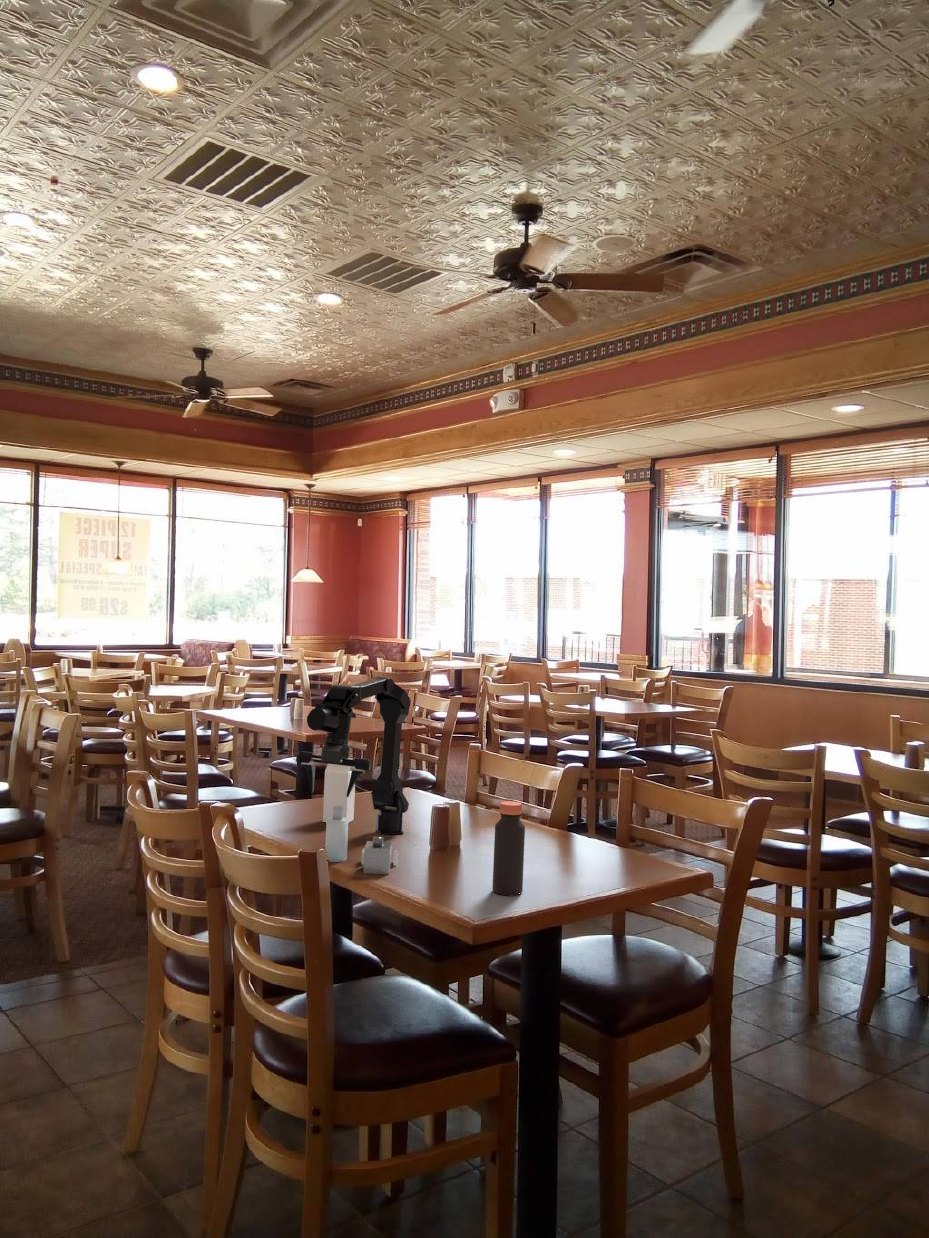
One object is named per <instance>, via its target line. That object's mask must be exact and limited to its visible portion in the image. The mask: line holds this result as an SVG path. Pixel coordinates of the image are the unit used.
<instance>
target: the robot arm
mask: <svg viewBox="0 0 929 1238" xmlns="http://www.w3.org/2000/svg"><path fill="white" fill-rule="evenodd" d="M371 697H374V699H375V700H376V702H377V704H378V705H379V714H380V716H381V719H382V720H383V724H384V725H383V726H384V727H383V737H382V748H381V749H382V752H381V763H380V773H379V775H378V777H377V778H376V779H374V780H373V781H372V783H371V785H372V786H371V800H372V805H373V810H375V811H376V810H378V814H376V822H375V829H376V831H377V832H378V833H379V834H380V835H404V831H403V814H404V813H406V812H408V811H409V810H408V809H409V805H410V803H409V801H408V800H407V798H406V796H405V795H404V787H403V786H404V785H403V782H402V780H401V778H400V776H399V765H400V753H401V743H402V742H401V738H402V730H403V729H402V728H403V723H404V721H405V720H406V719H407V717H408V716H409V713H410V707H411V703H412V702H411V697H410V696H409V695H408V694H407V692H406V691H405V689H403V688H402V687H401V686H399V685H398V684H397V683H395V682H394V680H393V679H392V678H390V677H386V676H376V677H373V678H371V679H368V680H365V681H362V682H358V683H355V684H333V685H331V686H330V688H329V690H328V691H327V694H326V695H325V696H324V698H323V699H322V701H321V702H320V703H315V707H314V708H313V709H311V710H310V711H309V712H308V715H306V716H307V717H306V724H307V726H308V727H309V729H311V731H316V732H322V733H326V736H325V737H326V739H325V742H324V744H323V746H322V748H321V755H318V754H317V755H316V752H311V751H303V750H299V751H298V752H297V754H296V759H295V762H297V763H300V767H304V769H305V771H306V775H307V778H308V779H307V780H308V786H309V790H310V791H309V792H310V793H311V794H313V793H314V789H315V777H316V764H315V763H319V764H320V763H321V764H327V765H328V764H335V765H343V766H352V767H354V770H352V772H351V778H350V782H349V786H348V790H347V797H349V795H350V793H351V791H352V789H353V787H354V785H355V786H356V783H357V781H358V779H359V778H360V776H361V775H362V774H366V771H372V764H373V763H372V760H371V759H370V758H369V759H367V758H359V757H354V759H353V760H350V759H348V758H350V755H351V754H350V753H351V745H350V744H349V738H350V730H351V725H352V719H356V718H357V715H356V713H355V712H354V711H353V709H354V708H356V707H357V706H359V705H360V704H361V702H362V700H364V699H368V698H371ZM341 760H342V761H341ZM341 762H342V763H341Z"/></svg>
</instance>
